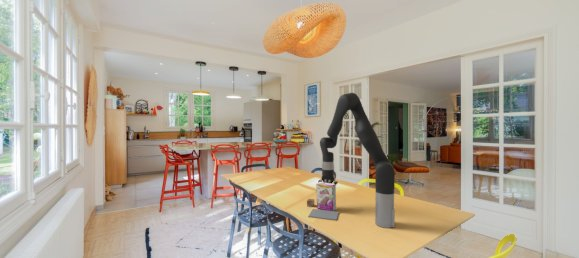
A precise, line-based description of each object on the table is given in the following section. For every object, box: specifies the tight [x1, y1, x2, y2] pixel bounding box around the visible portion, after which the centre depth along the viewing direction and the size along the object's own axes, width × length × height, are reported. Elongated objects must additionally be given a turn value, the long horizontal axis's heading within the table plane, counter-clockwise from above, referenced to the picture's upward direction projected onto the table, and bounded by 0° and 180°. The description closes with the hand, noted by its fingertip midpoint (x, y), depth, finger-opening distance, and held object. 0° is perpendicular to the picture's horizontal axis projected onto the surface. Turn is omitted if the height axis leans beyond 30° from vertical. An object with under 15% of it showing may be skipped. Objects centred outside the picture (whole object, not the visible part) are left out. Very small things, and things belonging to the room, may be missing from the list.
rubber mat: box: [308, 208, 340, 221], centre depth 140 cm, size 16×12×1 cm
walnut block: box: [306, 198, 315, 208], centre depth 156 cm, size 4×4×4 cm
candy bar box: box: [315, 181, 337, 211], centre depth 148 cm, size 11×5×16 cm, turn 58°
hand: (327, 195), depth 152 cm, fingers closed
